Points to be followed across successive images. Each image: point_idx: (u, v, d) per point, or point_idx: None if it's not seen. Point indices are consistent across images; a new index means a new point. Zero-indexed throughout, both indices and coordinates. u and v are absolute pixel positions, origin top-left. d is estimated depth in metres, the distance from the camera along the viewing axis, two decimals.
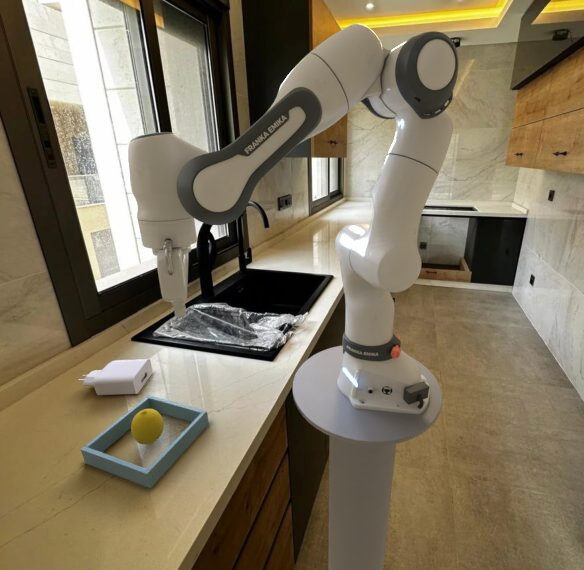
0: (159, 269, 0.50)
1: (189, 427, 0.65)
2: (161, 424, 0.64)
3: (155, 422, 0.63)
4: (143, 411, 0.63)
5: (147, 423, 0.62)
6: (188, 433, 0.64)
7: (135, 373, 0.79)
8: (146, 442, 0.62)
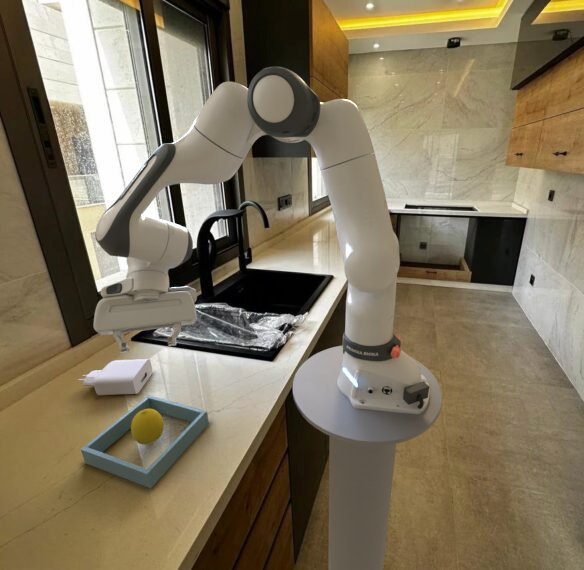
0: (191, 297, 0.76)
1: (189, 427, 0.65)
2: (161, 424, 0.64)
3: (155, 422, 0.63)
4: (143, 411, 0.63)
5: (147, 423, 0.62)
6: (188, 433, 0.64)
7: (135, 373, 0.79)
8: (146, 442, 0.62)
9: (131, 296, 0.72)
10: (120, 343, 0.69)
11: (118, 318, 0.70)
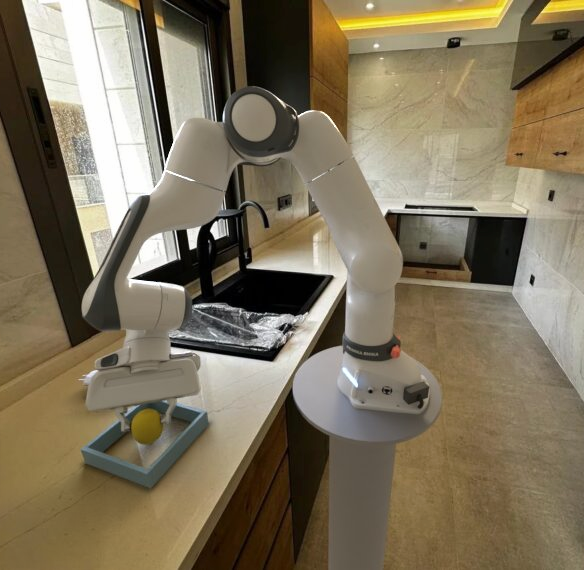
0: (195, 365, 0.68)
1: (189, 427, 0.65)
2: (161, 424, 0.64)
3: (155, 422, 0.63)
4: (143, 411, 0.63)
5: (147, 423, 0.62)
6: (188, 433, 0.64)
7: None
8: (146, 442, 0.62)
9: (128, 367, 0.65)
10: (123, 422, 0.62)
11: (114, 394, 0.63)
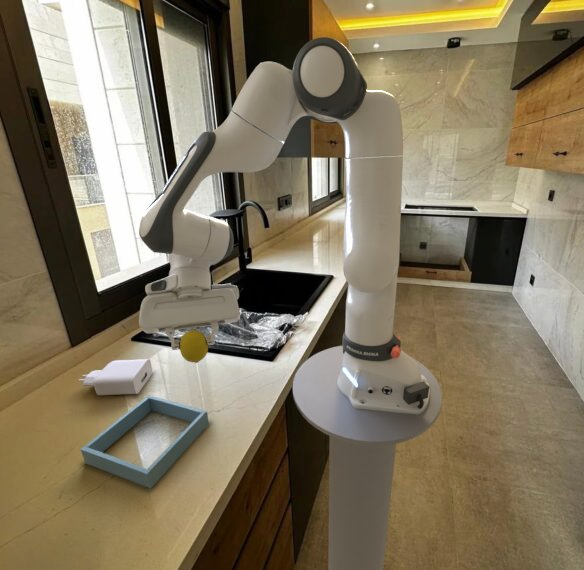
0: (234, 294, 0.74)
1: (189, 427, 0.65)
2: (206, 344, 0.70)
3: (202, 341, 0.68)
4: (191, 330, 0.68)
5: (195, 340, 0.67)
6: (188, 433, 0.64)
7: (135, 373, 0.79)
8: (194, 358, 0.68)
9: (175, 293, 0.71)
10: (172, 340, 0.68)
11: (163, 315, 0.69)
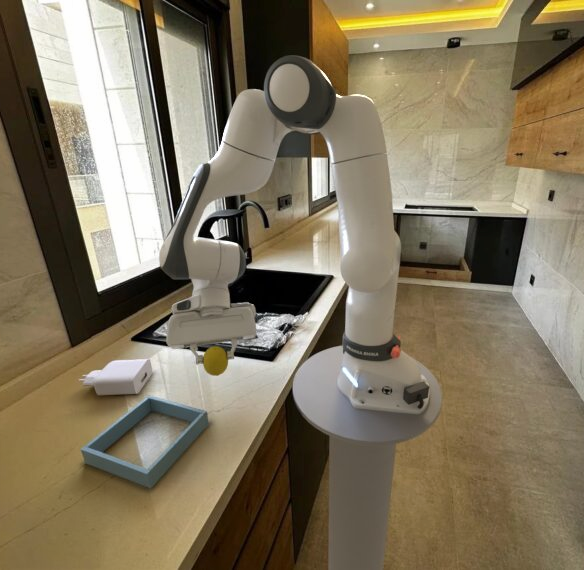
0: (252, 313, 0.81)
1: (189, 427, 0.65)
2: (227, 359, 0.76)
3: (223, 356, 0.75)
4: (213, 347, 0.75)
5: (217, 356, 0.74)
6: (188, 433, 0.64)
7: (135, 373, 0.79)
8: (216, 372, 0.74)
9: (198, 312, 0.77)
10: (196, 356, 0.74)
11: (188, 333, 0.75)
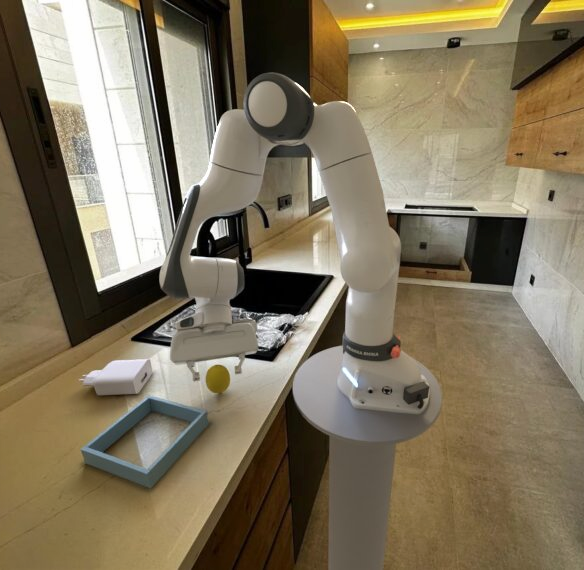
0: (253, 328, 0.82)
1: (189, 427, 0.65)
2: (229, 377, 0.78)
3: (225, 375, 0.77)
4: (216, 365, 0.76)
5: (220, 375, 0.76)
6: (188, 433, 0.64)
7: (135, 373, 0.79)
8: (218, 391, 0.76)
9: (201, 328, 0.79)
10: (193, 373, 0.76)
11: (191, 349, 0.77)
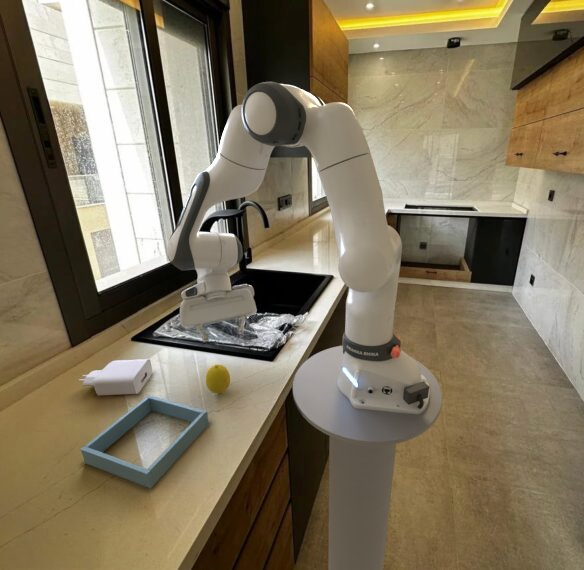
0: (251, 293, 0.93)
1: (189, 427, 0.65)
2: (229, 377, 0.78)
3: (225, 375, 0.77)
4: (216, 365, 0.76)
5: (220, 375, 0.76)
6: (188, 433, 0.64)
7: (135, 373, 0.79)
8: (218, 391, 0.76)
9: (204, 296, 0.90)
10: (202, 334, 0.87)
11: (198, 315, 0.88)
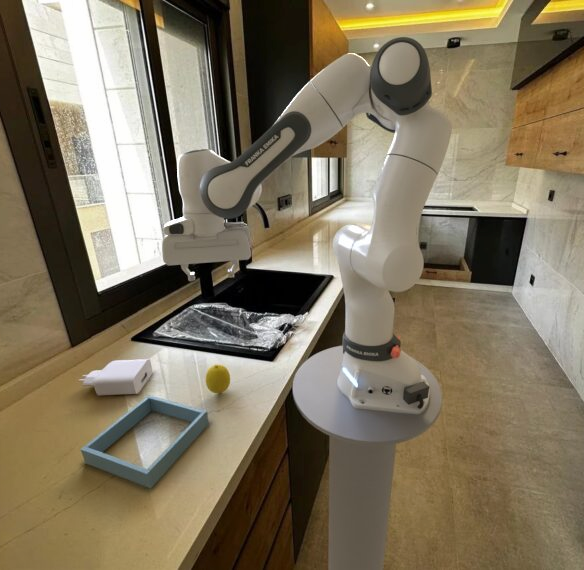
0: (247, 237, 0.80)
1: (189, 427, 0.65)
2: (229, 377, 0.78)
3: (225, 375, 0.77)
4: (216, 365, 0.76)
5: (220, 375, 0.76)
6: (188, 433, 0.64)
7: (135, 373, 0.79)
8: (218, 391, 0.76)
9: (192, 234, 0.75)
10: (188, 275, 0.79)
11: (184, 254, 0.76)
